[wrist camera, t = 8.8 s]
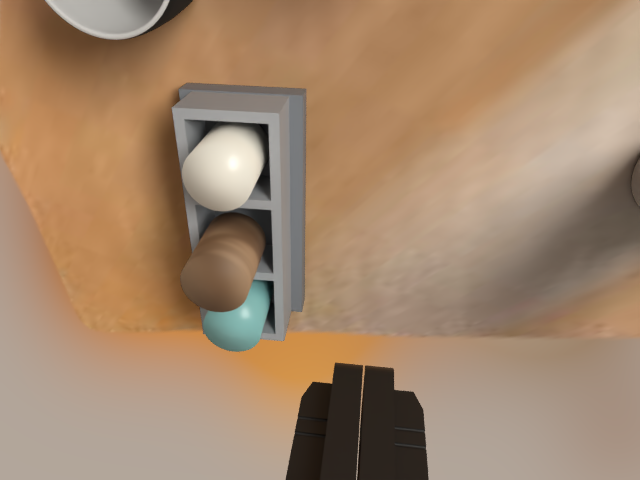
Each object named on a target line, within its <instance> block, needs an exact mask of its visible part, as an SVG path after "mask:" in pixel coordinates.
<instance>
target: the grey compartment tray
mask: <svg viewBox="0 0 640 480" xmlns="http://www.w3.org/2000/svg"><path fill="white" fill-rule="evenodd" d="M179 97H180V101H179V102H178V103H177V104H176V105H174V106H173V107H172V113H173V120H174V127H175V134H176V142H177V149H178V156H179V163H180V170H181V177H182V168H183V164H184V161H185V160H186V158H187V157H188V155H189V154H190V153H191V152H192V151H193V150H194V148H195V147H196V146H197V145H198V144H199V143H200V142H201V141H202V139H203V138H204V137H205V136H206V135H207V134H208V133H209V131H210V130H211V129H212V128H213V127H214V126H215V125H216V124H217V123H218V122H219V121H226V122H244V123H257V124H258V125H259V126H261V128H262V129H263V130H264V131H265V133H266V135H267V137H268V139H269V158H268V160H267V162H266V164H265V166H264V168H263V170H262V172H261V174H260V176H259V178H258V180H257V182H256V184H255V186H254V188H253V190H252V192H251V194H250V196H249V198H248V199H247V201H246V202H245V203H244V204H243V205H242V206H240V207H238V208H237V209H234V210H230V211H215V210H211V209H208V208H206V207H204V206H202V205H200V204H199V203H198V202H196V201H195V200H194V199H193V198H192V197H191V196H190V194H189V193H188V191H187V190H186V188H185V186H184V183H183V179H182V184H183V191H184V199H185V206H186V213H187V220H188V227H189V234H190V241H191V249H192V253H193V251H194V249H195V248H196V246H197V244H198V243H199V241H200V239H201V238H202V236H203V234H204V233H205V231H206V229H207V228H208V226H209V224H210V223H211V221H212V220H213V219H214V218H215V217H217V216H218V215H220V214H223V213H228V212H236V213H241V214H244V215H247V216H249V217H251V218H252V219H254V220H255V221H256V222H257V223H258V224H259V225H260V226H261V228H262V229H263V231H264V233H265V237H266V246H265V249H264V252H263V255H262V258H261V260H260V263H259V266H258V268H257V271H256V274H255V277H254V279H255V280H267V281H274V293H273V296H272V300H271V303H270V306H269V310H268V313H267V317H266V320H265V323H264V327H263V330H262V334H261V337H260V339H266V340H277V341H284V340H285V335H286V331H287V327H288V322H289V318H290V314H291V311H296V312H302V309H303V304H304V296H305V178H306V89H299V88H279V87H259V86H240V85H220V84H200V83H186V84H185V85H183V86H182V87H181V88H179ZM207 312H208V310H206V309H203V308H201V307H200V313H201V320H202V327H203V321H204V319H205V316H206V314H207ZM203 334H205V332H204V329H203Z"/></svg>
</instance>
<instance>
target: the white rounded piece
mask: <svg viewBox="0 0 640 480" xmlns="http://www.w3.org/2000/svg"><path fill="white" fill-rule="evenodd" d="M268 158H269V139H268V137H267V135H266V133H265V131H264V130H263V129H262V128H261V126H259V125H258V124H257V123H244V122H226V121H219V122H218V123H217V124H216V125H215V126H214V127H213V128H212V129H211V130H210V131H209V133H208V134H207V135H206V136H205V137H204V138H203V139H202V141H201V142H200V143H199V144H198V145H197V146H196V147H195V148H194V150H193V151H192V152H191V153H190V154H189V155H188V157H187V158H186V160H185V161H184V164H183V168H182V179H183V183H184V186H185V188H186V190H187V191H188V193H189V194H190V196H191V197H192V198H193V199H194V200H195V201H196V202H198V203H199V204H200V205H202V206H204V207H206V208H208V209H211V210H215V211H230V210H234V209H237V208H238V207H240V206H242V205H243V204H244V203H245V202H246V201H247V199H248V198H249V196H250V194H251V192H252V190H253V188H254V186H255V184H256V182H257V180H258V178H259V176H260V174H261V172H262V170H263V168H264V166H265V164H266V162H267V160H268Z"/></svg>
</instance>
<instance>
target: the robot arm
mask: <svg viewBox="0 0 640 480" xmlns="http://www.w3.org/2000/svg"><path fill="white" fill-rule="evenodd" d="M631 190H632V194H633V197H634V199H635V201H636V203H637V204H638V206H639V207H640V158H639V160H638V162H637V164H636V166H635V168H634V171H633V175H632V178H631ZM362 372H363V365H353V364H343V363H335V367H334V374H333V383H332V384H330V383H320V382H312V384H311V385H310V386H309V388H308V389H307V391H306V392H305V393H304V395H303V396H302V398H301V403H300V408H299V413H298V420H297V424H296V429H295V435H294V440H293V444H292V449H291V455H290V460H289V465H288V470H287V475H286V480H356V470H357V453H358V437H359V421H360V420H359V419H360V404H361V389H362ZM357 480H428V467H427V454H426V441H425V427H424V414H423V409H422V407H421V405H420V403H419V401H418V399H417V398H416V396H415V394H414V392H409V391H398V390H394V369H393V368H385V367H375V366H365V375H364V387H363V398H362V411H361V425H360V441H359V458H358V476H357Z"/></svg>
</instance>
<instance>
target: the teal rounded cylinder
mask: <svg viewBox="0 0 640 480" xmlns="http://www.w3.org/2000/svg"><path fill="white" fill-rule="evenodd" d="M273 293H274V281H267V280H255V279H253V282H252V285H251V288H250V290H249V293H248V296H247V298H246V300H245V302H244V303H243V304H242V305H241V306H240V307H238V308H237V309H235V310H232V311H228V312H213V311H209V310H208V312H207V314H206V316H205V319H204V321H203V329H204V332H205V334H206V336H207V337H208V339H209V340H210V341H211V342H212V343H213V344H215V345H216V346H218V347H220V348H222V349H225V350H229V351H236V352H239V351H246V350H249V349H251V348H253V347H254V346H255V345H256V344H257V343H258V342H259V340H260V337H261V334H262V330H263V327H264V323H265V320H266V317H267V313H268V310H269V306H270V303H271V300H272V296H273Z"/></svg>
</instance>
